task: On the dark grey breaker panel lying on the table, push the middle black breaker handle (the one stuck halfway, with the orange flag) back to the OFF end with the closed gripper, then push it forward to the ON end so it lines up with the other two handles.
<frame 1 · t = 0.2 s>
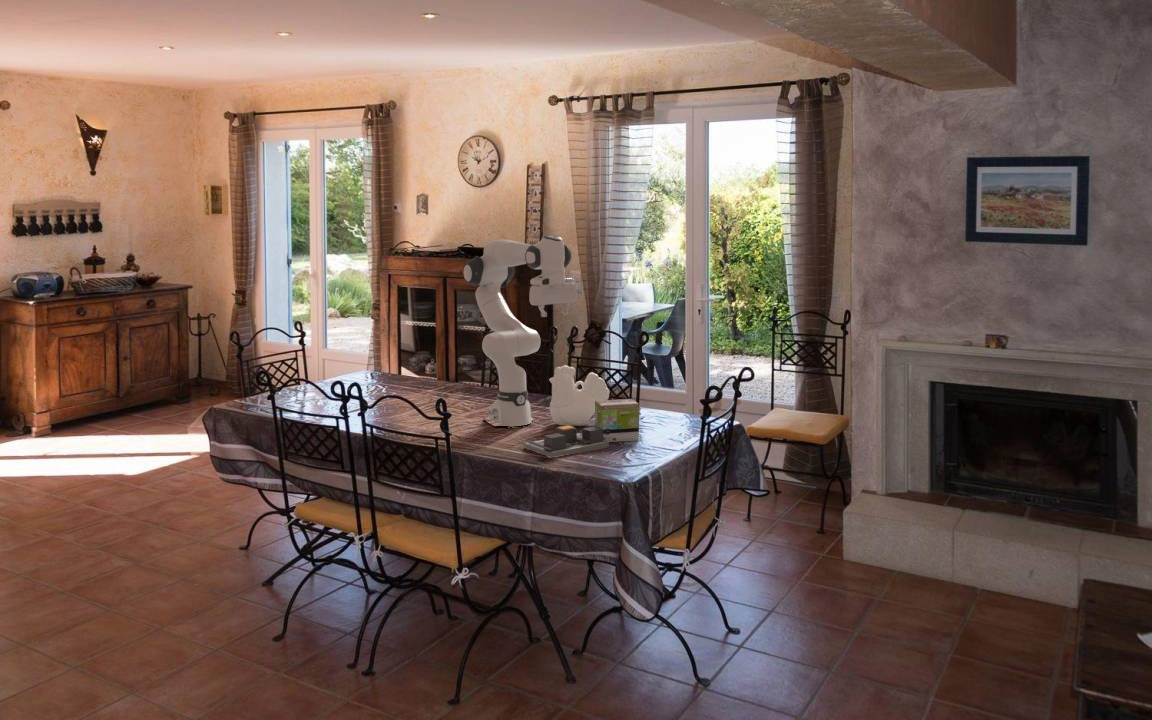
hand: (554, 315, 378), 48 cm above the table, tool pointing down, fingers open, 8 cm apart
tea box: (616, 439, 383), on the table
decorative rooster: (580, 425, 407), on the table
breaker panel: (566, 448, 370), on the table
tripped breaker: (566, 434, 369), point 5 cm above the table, slide at 0.0 cm
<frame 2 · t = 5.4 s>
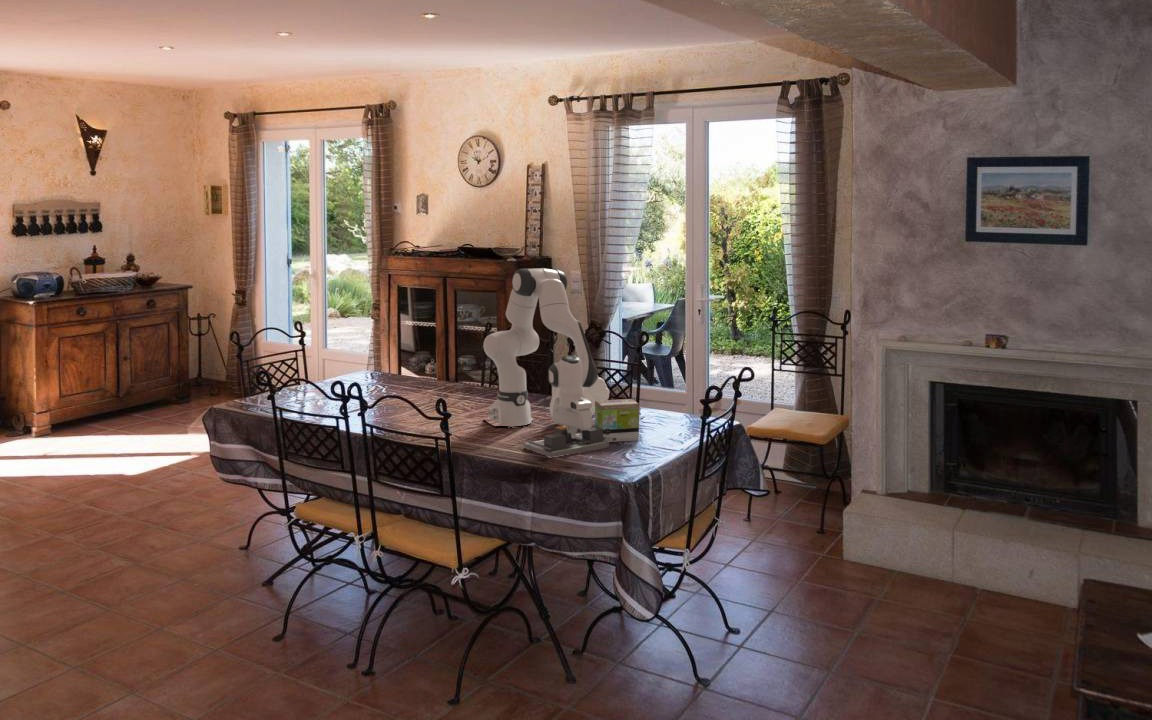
hand: (571, 437, 367), 5 cm above the table, tool pointing down, fingers closed
tripped breaker: (564, 434, 370), point 5 cm above the table, slide at -0.9 cm, touching gripper
everything else where it was.
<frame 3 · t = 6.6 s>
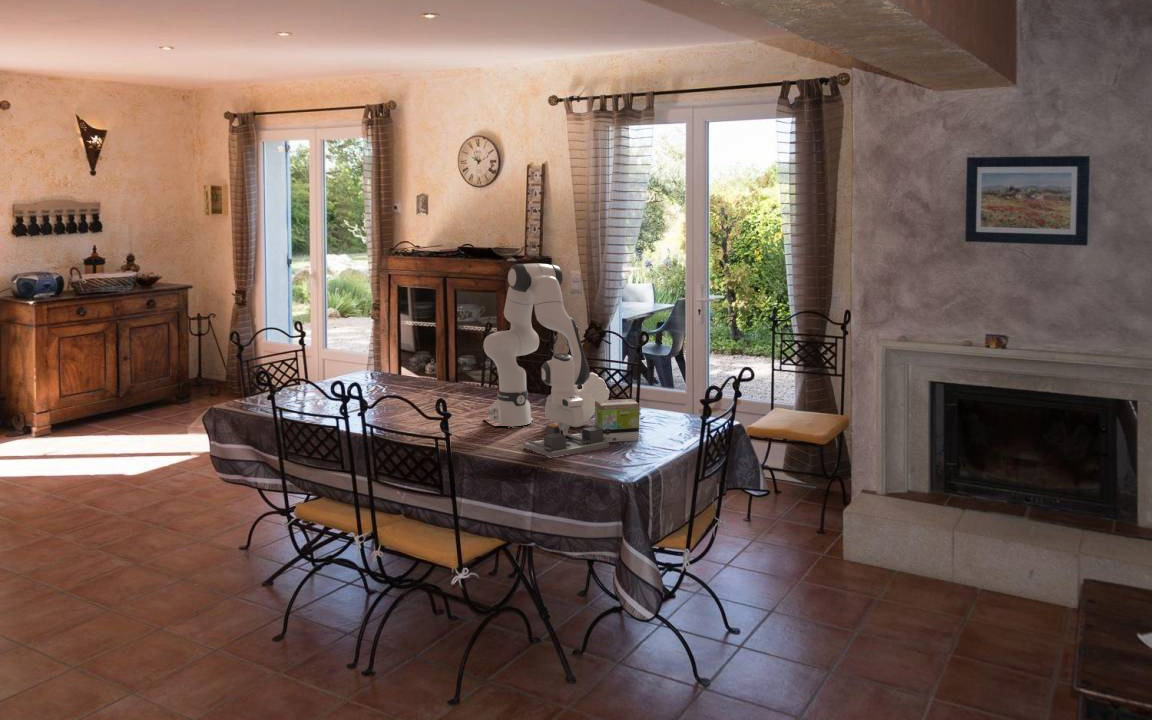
hand: (563, 434, 371), 5 cm above the table, tool pointing down, fingers closed
tripped breaker: (556, 431, 374), point 5 cm above the table, slide at -6.0 cm, touching gripper
everything else where it was.
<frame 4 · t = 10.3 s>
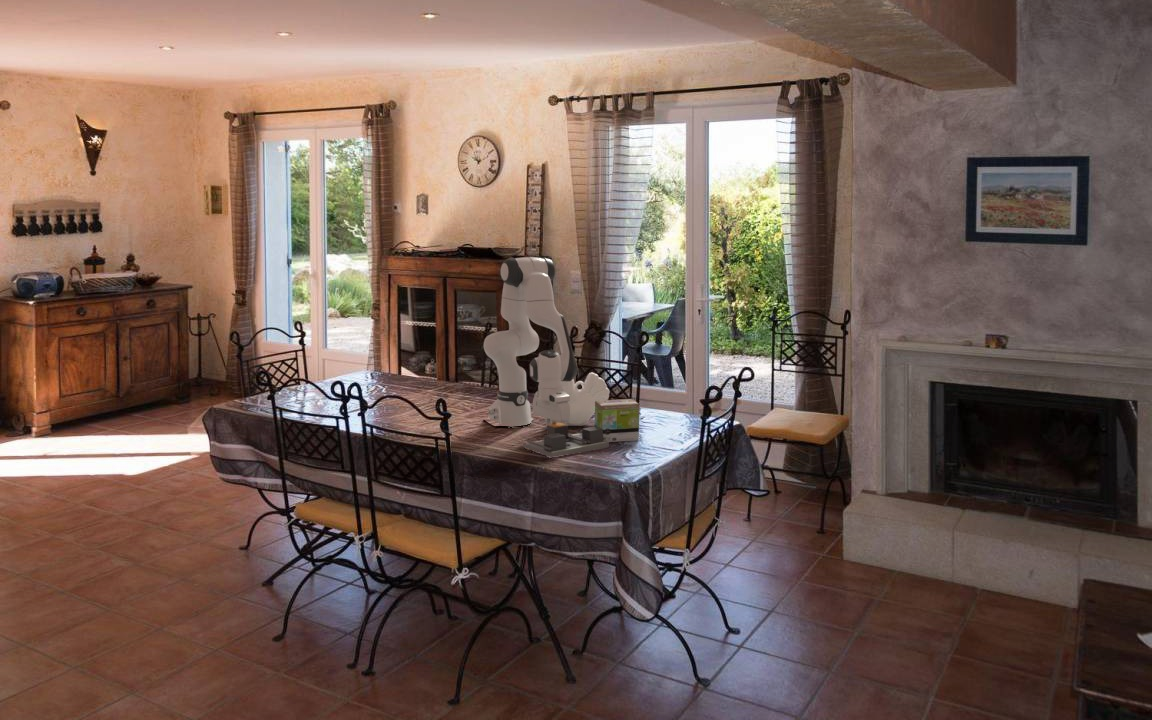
hand: (551, 430, 377), 5 cm above the table, tool pointing down, fingers closed
tripped breaker: (557, 432, 374), point 5 cm above the table, slide at -5.5 cm, touching gripper
everything else where it was.
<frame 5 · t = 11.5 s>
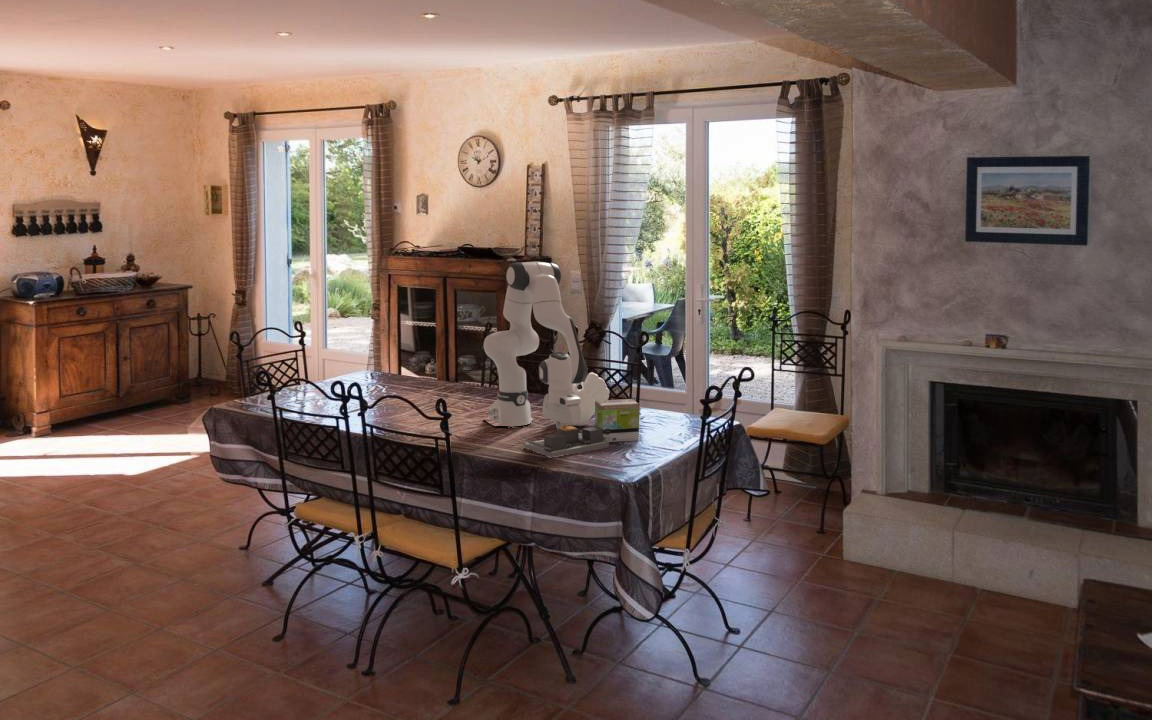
hand: (561, 433, 372), 5 cm above the table, tool pointing down, fingers closed
tripped breaker: (568, 435, 368), point 5 cm above the table, slide at 1.3 cm, touching gripper
everything else where it was.
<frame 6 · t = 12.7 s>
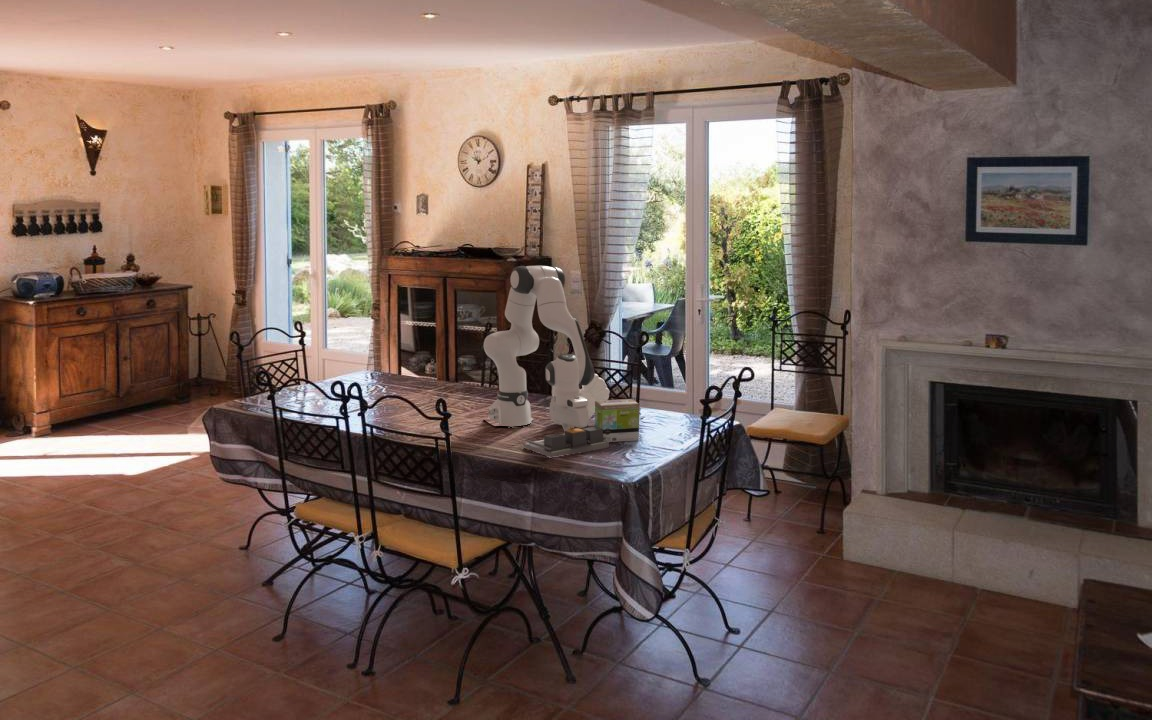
hand: (568, 435, 368), 5 cm above the table, tool pointing down, fingers closed
tripped breaker: (575, 437, 365), point 5 cm above the table, slide at 5.9 cm, touching gripper
everything else where it was.
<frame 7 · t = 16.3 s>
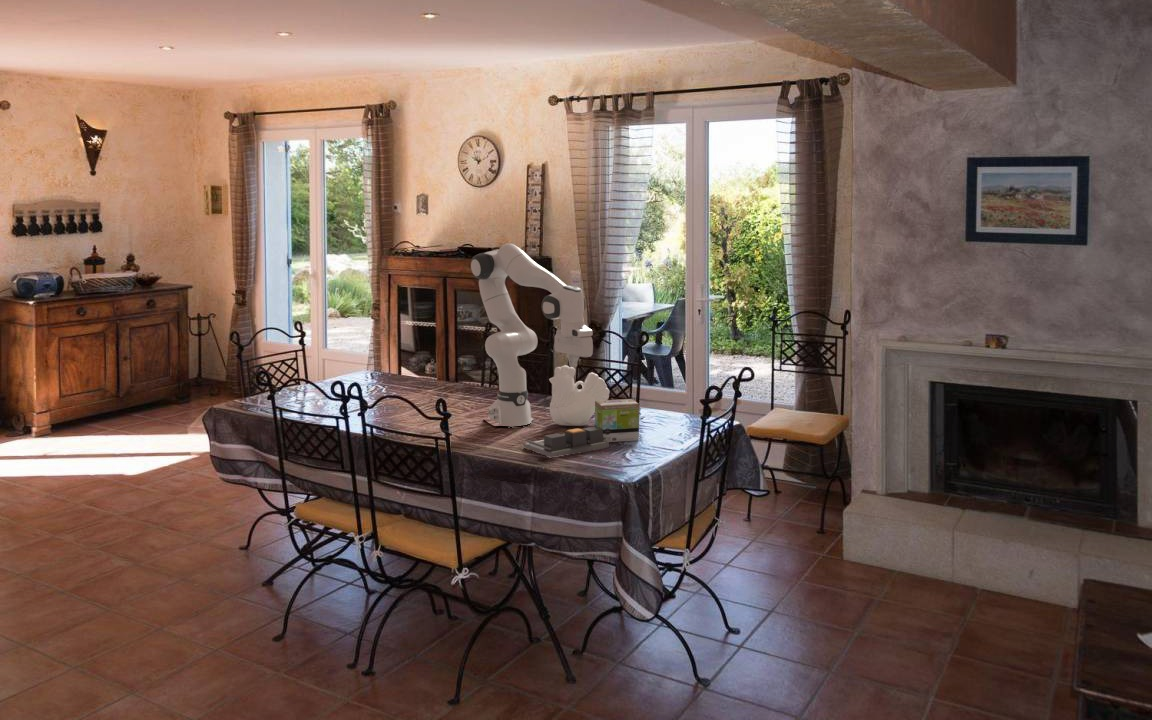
hand: (573, 366, 375), 29 cm above the table, tool pointing down, fingers closed
tripped breaker: (575, 437, 365), point 5 cm above the table, slide at 6.0 cm
everything else where it was.
at the end: tripped breaker slide at 6.0 cm; tripped breaker touching nothing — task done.
